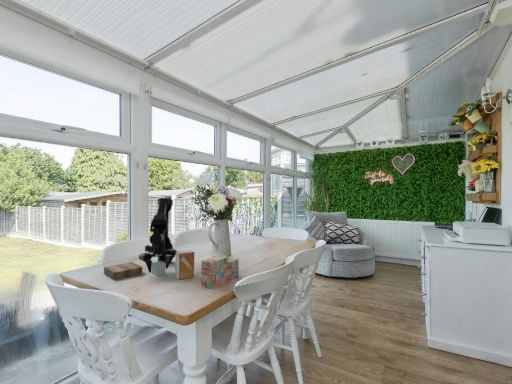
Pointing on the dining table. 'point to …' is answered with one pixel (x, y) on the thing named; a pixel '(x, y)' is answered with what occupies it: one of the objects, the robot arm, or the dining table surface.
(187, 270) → the small box
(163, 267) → the green cube
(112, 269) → the walnut base
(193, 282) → the dining table surface
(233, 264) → the stack of blocks
